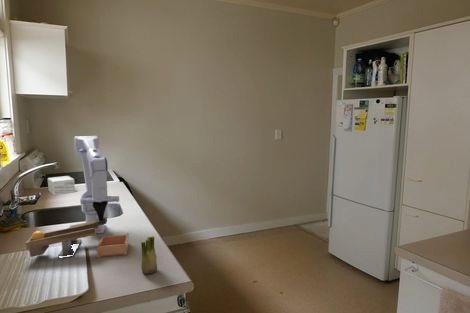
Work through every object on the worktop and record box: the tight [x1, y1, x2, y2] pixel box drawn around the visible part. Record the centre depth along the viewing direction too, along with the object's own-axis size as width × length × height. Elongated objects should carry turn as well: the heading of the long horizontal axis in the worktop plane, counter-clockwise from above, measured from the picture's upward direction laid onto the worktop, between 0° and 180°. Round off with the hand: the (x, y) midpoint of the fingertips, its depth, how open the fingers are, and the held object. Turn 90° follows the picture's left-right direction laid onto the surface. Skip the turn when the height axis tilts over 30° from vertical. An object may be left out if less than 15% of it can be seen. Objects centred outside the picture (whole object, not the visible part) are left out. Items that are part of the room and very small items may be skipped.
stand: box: [57, 238, 83, 257], centre depth 124 cm, size 15×5×6 cm, turn 14°
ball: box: [30, 230, 45, 240], centre depth 116 cm, size 4×4×4 cm
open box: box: [96, 232, 130, 259], centre depth 124 cm, size 11×10×4 cm
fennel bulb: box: [140, 235, 158, 275], centre depth 106 cm, size 6×5×12 cm
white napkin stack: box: [47, 175, 76, 196], centre depth 217 cm, size 17×13×9 cm
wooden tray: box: [25, 216, 108, 258], centre depth 123 cm, size 16×25×6 cm, turn 104°
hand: (101, 219), depth 131 cm, fingers closed
